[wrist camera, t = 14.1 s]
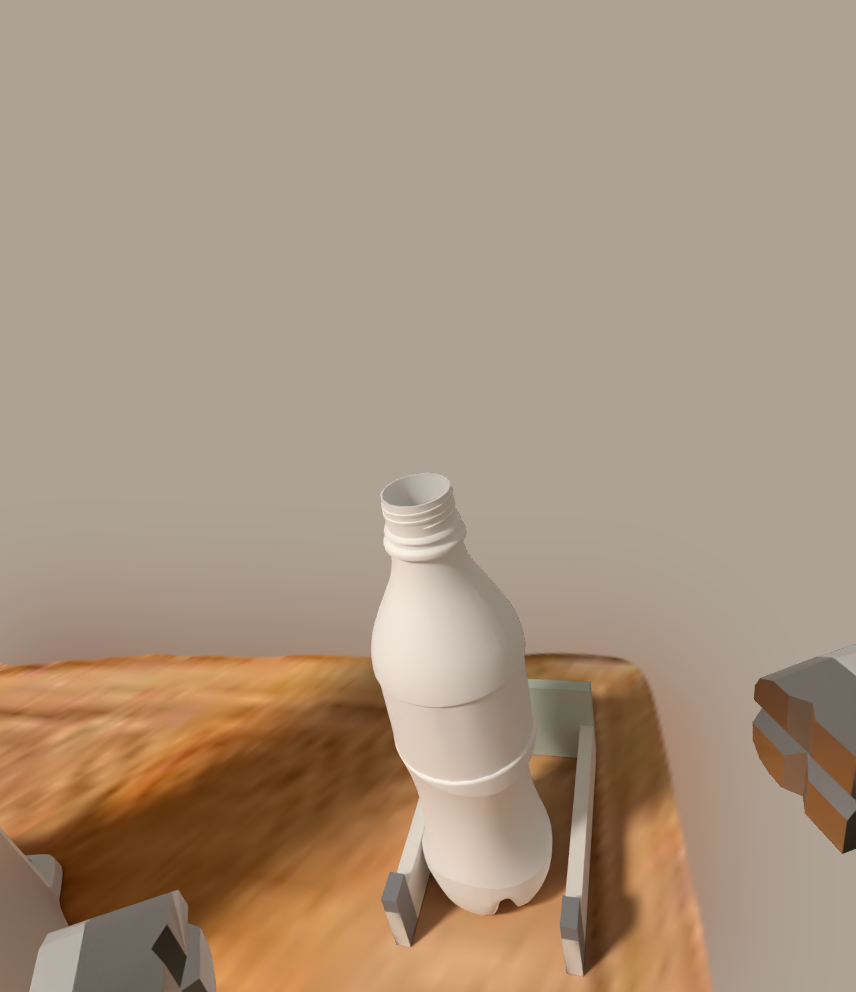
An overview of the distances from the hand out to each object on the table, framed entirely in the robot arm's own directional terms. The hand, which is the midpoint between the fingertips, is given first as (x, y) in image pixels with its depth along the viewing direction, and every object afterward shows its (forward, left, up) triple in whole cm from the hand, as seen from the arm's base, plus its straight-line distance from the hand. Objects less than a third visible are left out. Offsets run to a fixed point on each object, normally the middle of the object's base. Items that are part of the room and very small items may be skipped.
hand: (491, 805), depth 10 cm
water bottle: (-7, +18, -30) cm, 36 cm away
